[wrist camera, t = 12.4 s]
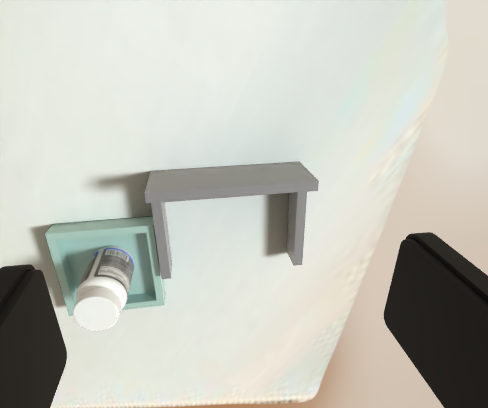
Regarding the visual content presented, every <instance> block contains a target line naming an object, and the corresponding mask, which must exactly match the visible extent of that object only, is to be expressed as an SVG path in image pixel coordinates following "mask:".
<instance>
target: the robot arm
mask: <svg viewBox="0 0 488 408" xmlns="http://www.w3.org/2000/svg"><path fill="white" fill-rule="evenodd" d="M384 320H385V323H386V325H387V327H388V328H389V330H390V331H391V333H392V334H393V336H394V337H395V338H396V340H397V341H398V343H399V344H400V345H401V347H402V348H403V350H404V351H405V353H406V354H407V355H408V357H409V358H410V360H411V361H412V362H413V364H414V365H415V367H416V368H417V369H418V371H419V372H420V374H421V375H422V377H423V378H424V380H425V381H426V382H427V384H428V385H429V386H430V388H431V389H432V391H433V392H434V394H435V395H436V397H437V398H438V399H439V401H440V402H441V404H442V405H443V406H444V408H488V276H487V275H486V274H485V273H484V272H482V271H481V270H480V269H478V268H477V267H475V266H474V265H473V264H472V263H471V262H469V261H468V260H467V259H466V258H464V257H463V256H462V255H461V254H459V253H458V252H457V251H455V250H454V249H453V248H451V247H450V246H449V245H448V244H446V243H445V242H444V241H442V240H441V239H440V238H439V237H437V236H436V235H435V234H433V233H415V234H409V235H408V236H407V237H406V239H405V240H403V241H402V242H401V245H400V249H399V253H398V257H397V261H396V265H395V269H394V273H393V278H392V282H391V286H390V290H389V294H388V298H387V302H386V306H385V310H384ZM66 359H67V351H66V347H65V344H64V340H63V337H62V334H61V331H60V327H59V324H58V321H57V318H56V314H55V311H54V308H53V304H52V301H51V298H50V295H49V291H48V288H47V285H46V282H45V278H44V275H43V273H42V271H41V270H35V268H34V267H33V266H32V265H17V266H5V267H2V268H1V269H0V408H50V406H51V404H52V401H53V398H54V395H55V392H56V390H57V387H58V384H59V381H60V379H61V376H62V373H63V370H64V368H65V364H66Z"/></svg>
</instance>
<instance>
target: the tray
mask: <svg viewBox="0 0 488 408" xmlns="http://www.w3.org/2000/svg"><path fill="white" fill-rule="evenodd" d="M45 236H46V239H47V243H48V246H49V250H50V253H51V256H52V260H53V263H54V267H55V270H56V273H57V277H58V280H59V284H60V287H61V290H62V294H63V297H64V301H65V304H66V307H67V311H68V314H69V316H73V309H74V306H75V304H76V292H77V289H78V286H79V284H80V282H81V279H82V277H83V275H84V273H85V271H86V268H87V266H88V264H89V261H90V259H91V257H92V256H93V254H94V253H95V252H96V251H97V250H99V249H101V248H104V247H108V246H116V247H120V248H122V249H125V250H126V251H128V252H129V253H130V255H131V256H132V258H133V260H134V271H133V275H132V280H131V284H130V288H129V292H128V298H127V301H126V304H125V306H124V307H123V309H122V310H126V309H134V308H143V307H152V306H161V305H165V286H164V279H161V272H160V264H159V257H158V250H157V243H156V236H155V229H154V222H153V216H149V217H136V218H123V219H111V220H98V221H85V222H73V223H60V224H52V226H51V227H50V228H49V230H48V231H47V232H46V234H45Z"/></svg>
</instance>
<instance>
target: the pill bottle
mask: <svg viewBox="0 0 488 408" xmlns="http://www.w3.org/2000/svg"><path fill="white" fill-rule="evenodd" d="M133 271H134V260H133V258H132V256H131V255H130V253H129V252H128V251H126V250H125V249H122V248H120V247H116V246H108V247H104V248H101V249H99V250H97V251H96V252H95V253H94V254H93V256H92V257H91V259H90V261H89V264H88V266H87V268H86V271H85V273H84V275H83V277H82V279H81V282H80V284H79V286H78V289H77V292H76V304H75V306H74V309H73V317H74V320H75V321H76V323H77V324H78V325H79V326H81V327H82V328H84V329H87V330H90V331H102V330H106V329H108V328H110V327H112V326H113V325H114V324H115V323H116V322H117V320H118V318H119V314H120V311H121V310H122V309H123V307H124V306H125V304H126V301H127V298H128V292H129V288H130V284H131V280H132V275H133Z"/></svg>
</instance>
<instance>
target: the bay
mask: <svg viewBox="0 0 488 408" xmlns="http://www.w3.org/2000/svg"><path fill="white" fill-rule="evenodd" d="M318 182H319V181H318V180H317V179H316V178H315V177H314V176H313V175H312V174H311V173H310V172H309V171H308V170H307V169H306V168H305V167H304V166H303V165H302V164H301V163H300V162H289V163H273V164H257V165H241V166H224V167H208V168H192V169H176V170H160V171H151V172H150V175H149V179H148V182H147V186H146V189H145V193H144V194H145V201H146V203H151V208H152V215H153V222H154V229H155V236H156V243H157V250H158V257H159V264H160V272H161V279H167V278H171V268H172V260H171V252H170V244H169V236H168V227H167V219H166V211H165V203H164V202H172V201H186V200H199V199H212V198H226V197H239V196H253V195H266V194H280V193H289V214H288V236H287V253H288V255H289V257H290V259H291V261H292V263H293V265H302V257H303V243H304V228H305V213H306V198H307V191H318Z"/></svg>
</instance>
